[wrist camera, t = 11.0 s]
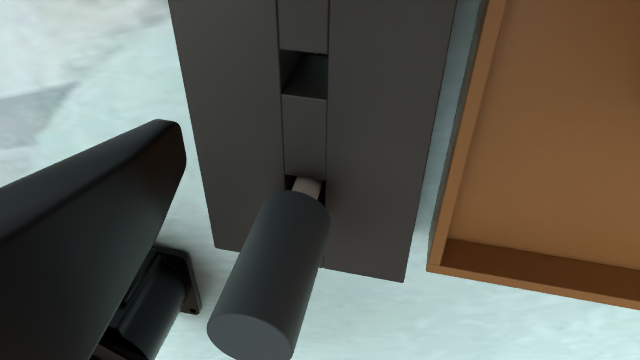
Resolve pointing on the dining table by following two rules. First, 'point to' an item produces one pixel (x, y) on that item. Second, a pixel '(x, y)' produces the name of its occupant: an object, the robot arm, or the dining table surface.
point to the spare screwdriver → (273, 276)
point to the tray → (546, 153)
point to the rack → (316, 114)
